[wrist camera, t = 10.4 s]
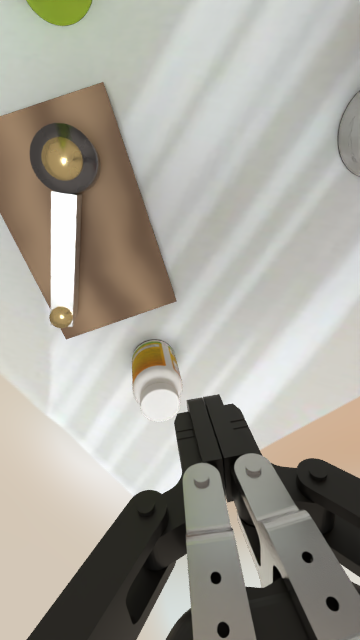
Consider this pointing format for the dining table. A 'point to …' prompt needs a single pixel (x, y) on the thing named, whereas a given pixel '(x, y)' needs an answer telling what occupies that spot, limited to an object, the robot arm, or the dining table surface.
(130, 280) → the walnut stand
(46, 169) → the bar
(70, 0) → the soap dispenser
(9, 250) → the dining table surface
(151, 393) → the supplement bottle
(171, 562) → the robot arm
